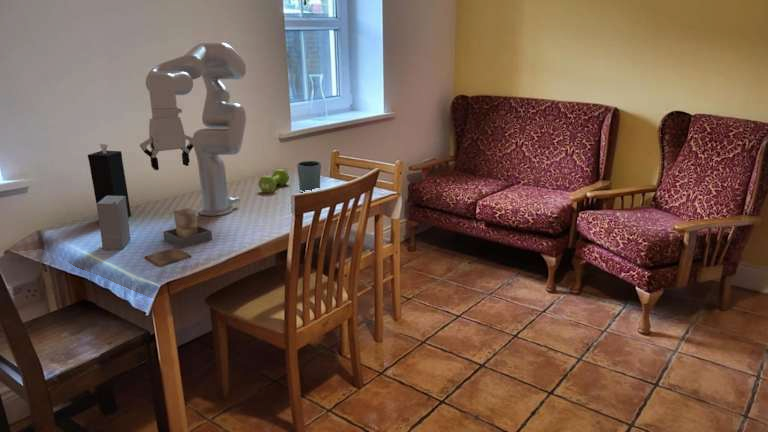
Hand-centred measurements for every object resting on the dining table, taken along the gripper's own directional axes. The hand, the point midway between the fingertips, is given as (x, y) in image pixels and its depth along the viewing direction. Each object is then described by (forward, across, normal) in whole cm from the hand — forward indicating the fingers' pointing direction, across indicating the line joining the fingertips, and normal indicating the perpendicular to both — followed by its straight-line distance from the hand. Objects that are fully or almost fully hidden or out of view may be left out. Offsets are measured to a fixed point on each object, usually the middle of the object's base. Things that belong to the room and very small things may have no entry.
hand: (171, 167), depth 183 cm
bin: (+24, -2, +3) cm, 24 cm away
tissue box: (+24, +9, -37) cm, 45 cm away
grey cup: (+23, -66, -20) cm, 72 cm away
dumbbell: (+23, -56, -34) cm, 70 cm away
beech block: (+24, -2, +3) cm, 24 cm away
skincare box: (+24, +18, -7) cm, 31 cm away
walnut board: (+24, +9, +14) cm, 30 cm away
